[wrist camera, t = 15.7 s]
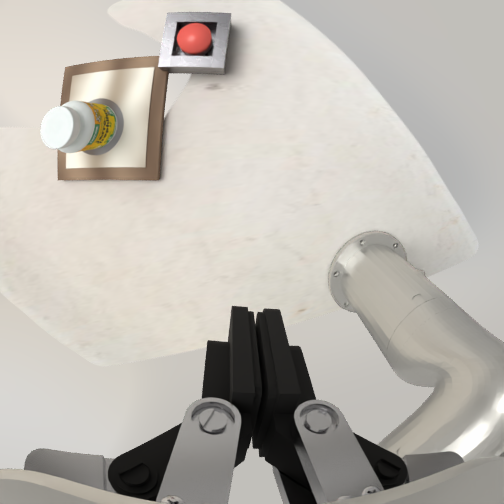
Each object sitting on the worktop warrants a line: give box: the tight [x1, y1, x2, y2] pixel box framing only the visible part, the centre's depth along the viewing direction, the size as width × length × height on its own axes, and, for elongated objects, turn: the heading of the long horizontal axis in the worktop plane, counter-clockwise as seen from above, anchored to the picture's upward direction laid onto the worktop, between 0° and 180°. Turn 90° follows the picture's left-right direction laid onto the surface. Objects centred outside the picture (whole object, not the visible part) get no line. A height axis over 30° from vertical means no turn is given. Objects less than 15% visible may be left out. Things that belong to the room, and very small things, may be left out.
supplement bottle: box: [41, 101, 117, 153], centre depth 24 cm, size 5×5×10 cm
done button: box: [177, 23, 212, 56], centre depth 25 cm, size 4×4×2 cm
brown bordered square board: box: [58, 56, 169, 180], centre depth 29 cm, size 14×15×2 cm
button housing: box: [158, 12, 231, 75], centre depth 26 cm, size 7×7×4 cm
